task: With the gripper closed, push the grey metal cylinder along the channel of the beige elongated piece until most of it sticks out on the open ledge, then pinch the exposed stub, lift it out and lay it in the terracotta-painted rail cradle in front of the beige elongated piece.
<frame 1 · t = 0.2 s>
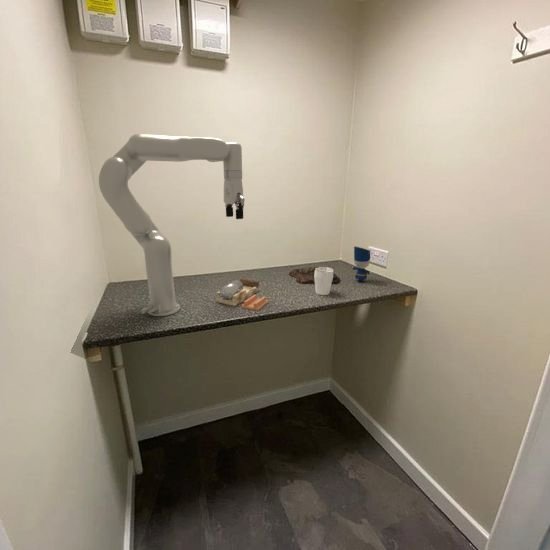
hand: (234, 217, 122), 37 cm above the table, tool pointing down, fingers open, 9 cm apart
cradle: (255, 304, 124), on the table
grey metal cylinder: (232, 296, 129), point 2 cm above the table, touching beige elongated piece
beige elongated piece: (238, 296, 134), on the table
figurine: (359, 281, 157), on the table
cup: (322, 293, 140), on the table
stone relief: (314, 278, 163), on the table
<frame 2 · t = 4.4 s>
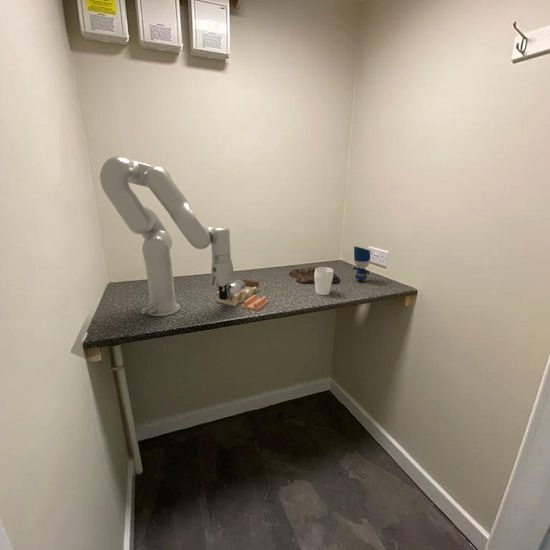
hand: (223, 298, 122), 3 cm above the table, tool pointing down, fingers closed
grey metal cylinder: (233, 295, 130), point 2 cm above the table, tilted 12°, touching beige elongated piece, gripper
everything else where it was.
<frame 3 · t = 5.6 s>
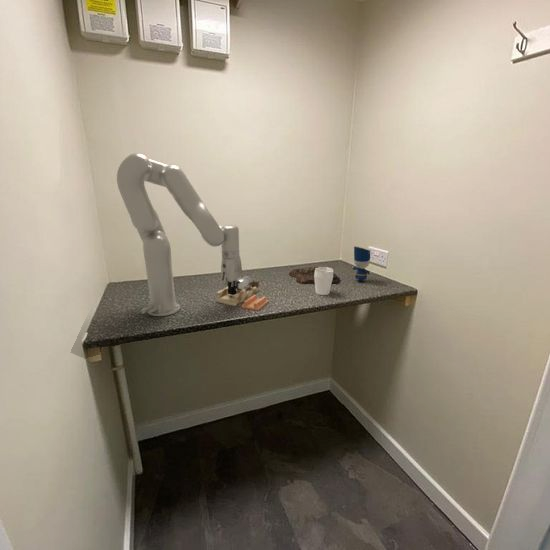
hand: (232, 293, 128), 3 cm above the table, tool pointing down, fingers closed
grey metal cylinder: (241, 290, 135), point 2 cm above the table, tilted 13°, touching beige elongated piece, gripper
everything else where it was.
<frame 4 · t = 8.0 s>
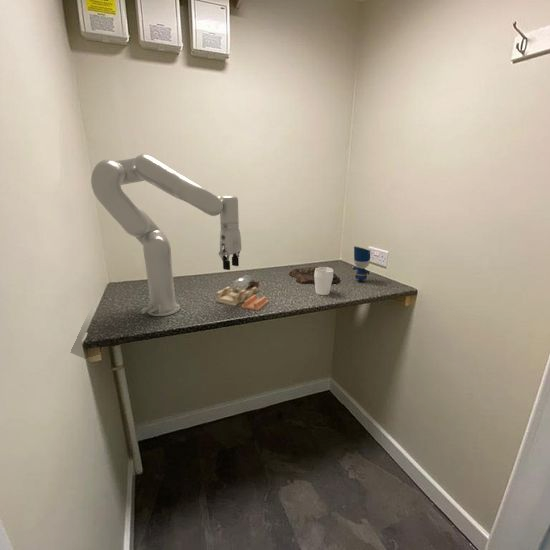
hand: (231, 267, 125), 16 cm above the table, tool pointing down, fingers open, 6 cm apart
grey metal cylinder: (242, 289, 137), point 2 cm above the table, touching beige elongated piece
everything else where it was.
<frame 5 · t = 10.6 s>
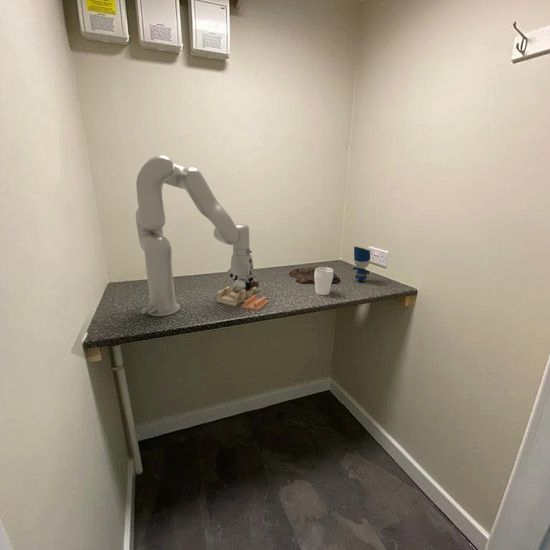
hand: (242, 288, 136), 3 cm above the table, tool pointing down, fingers closed on grey metal cylinder, 6 cm apart
grey metal cylinder: (242, 289, 137), point 2 cm above the table, touching beige elongated piece, gripper
everything else where it was.
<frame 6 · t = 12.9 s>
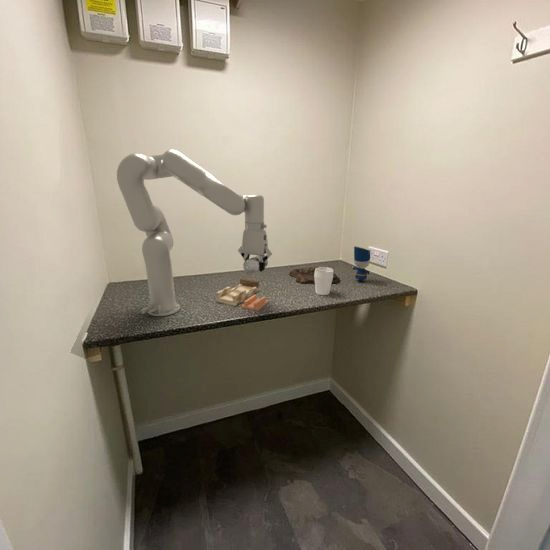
hand: (254, 269, 119), 16 cm above the table, tool pointing down, fingers closed on grey metal cylinder, 6 cm apart
grey metal cylinder: (255, 270, 121), point 15 cm above the table, touching gripper
everything else where it was.
when the fingers open (4 cm above the table, at t = 15.5 s): grey metal cylinder drops 1 cm, resting on cradle.
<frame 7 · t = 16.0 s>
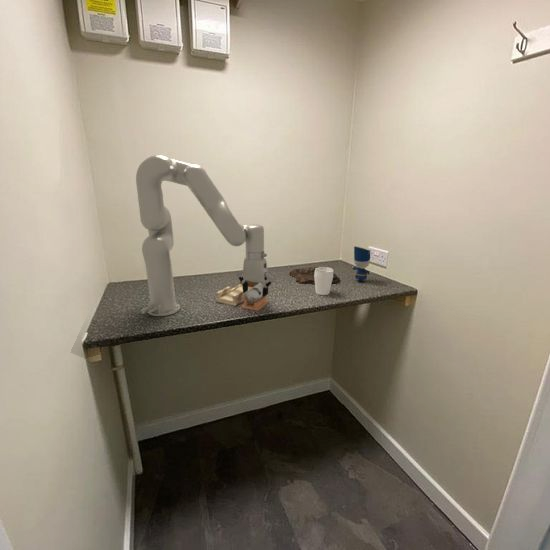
hand: (255, 293, 123), 5 cm above the table, tool pointing down, fingers open, 9 cm apart
grey metal cylinder: (255, 299, 124), point 2 cm above the table, tilted 5°, touching cradle
everything else where it was.
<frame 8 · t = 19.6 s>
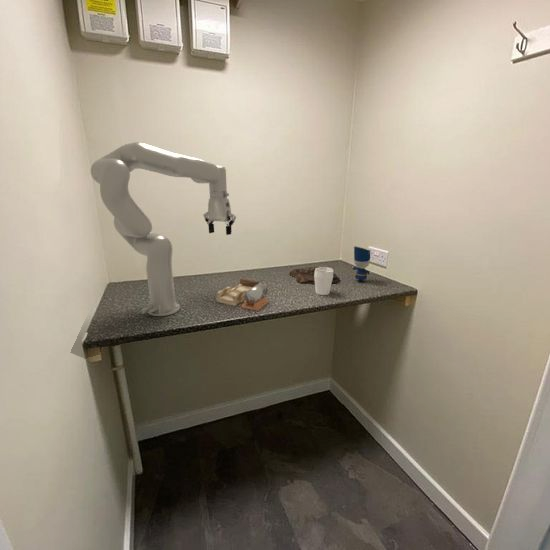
hand: (220, 233, 132), 28 cm above the table, tool pointing down, fingers open, 9 cm apart
nothing on the table moved.
at the end: grey metal cylinder 0.8 cm off-centre on the cradle, point 2.2 cm above the cradle's base; the gripper is holding nothing; grey metal cylinder touching cradle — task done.
